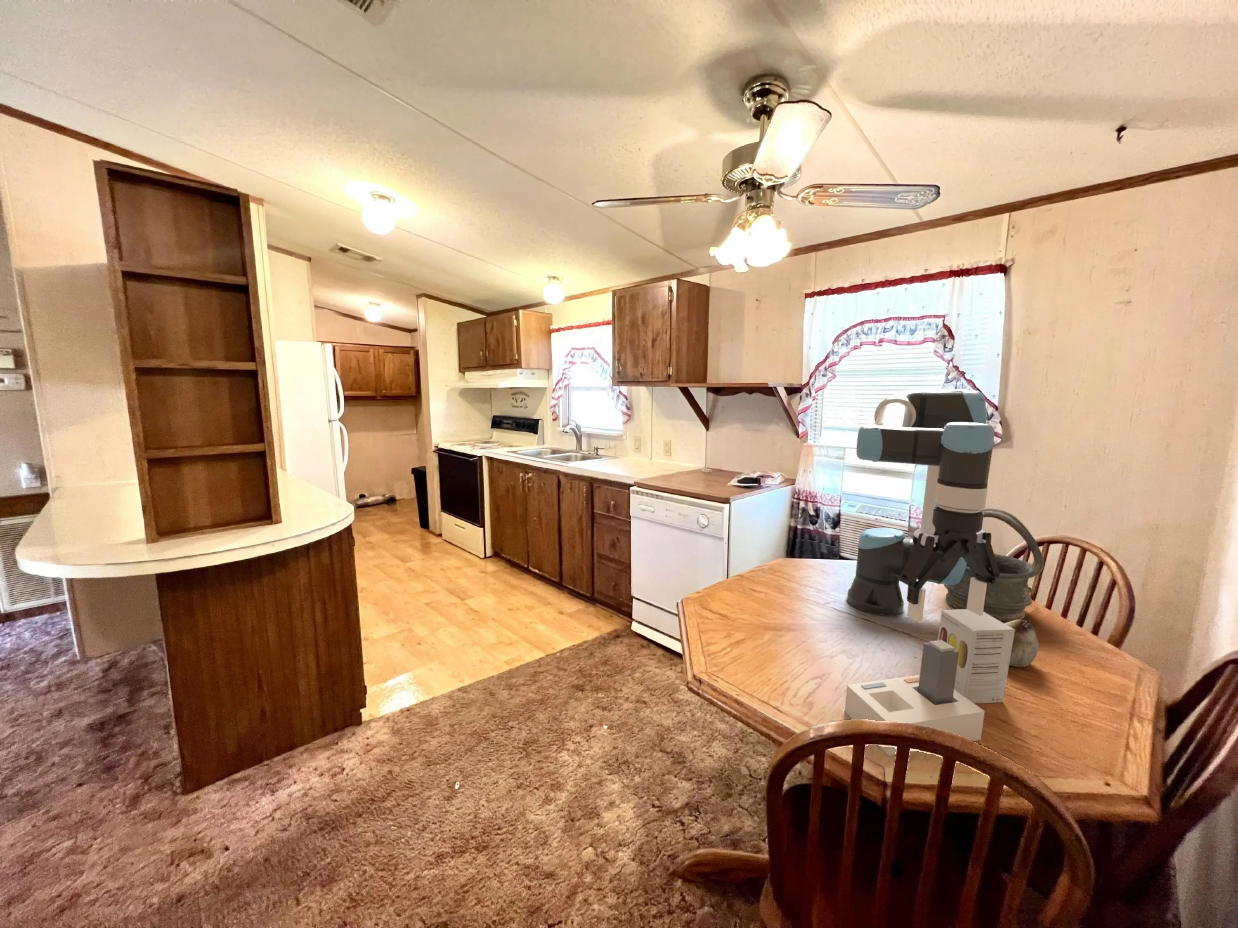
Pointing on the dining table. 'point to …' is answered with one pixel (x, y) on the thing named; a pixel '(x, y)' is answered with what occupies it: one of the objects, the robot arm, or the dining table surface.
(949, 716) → the socket block
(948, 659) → the plug
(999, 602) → the clay pot
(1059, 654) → the dining table surface
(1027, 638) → the fruit
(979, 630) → the supplement box
